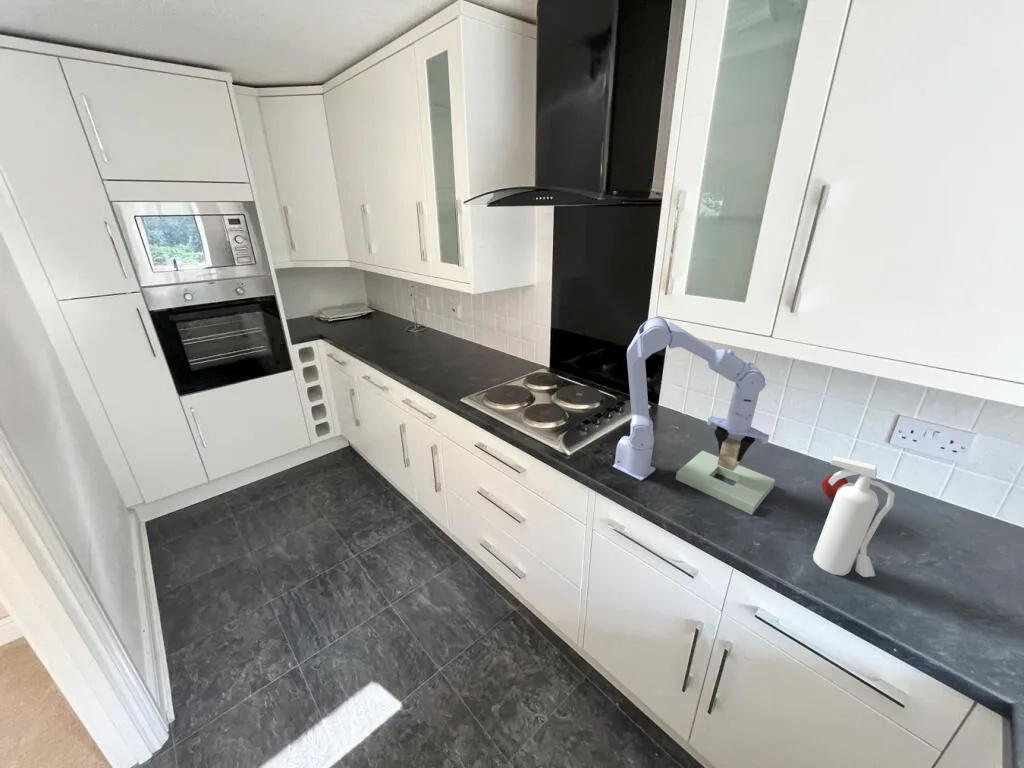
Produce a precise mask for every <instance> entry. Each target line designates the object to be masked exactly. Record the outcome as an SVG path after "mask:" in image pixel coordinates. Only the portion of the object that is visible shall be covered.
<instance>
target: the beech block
mask: <svg viewBox="0 0 1024 768" xmlns="http://www.w3.org/2000/svg"><path fill="white" fill-rule="evenodd" d="M740 443H741V440H738V439H735V438H732V437H730V436H728V438H727V439H726V440H725V441H723V442H722V447H721V451H720V454H719V456H718V457H719V460H718V464H717V465H719V466H721V467H724V468H726V469H729V470H731V471H733V470H734V469H735V468H736V467H737V466H738V465H740V464H739V463H740V462H739V461H737V457H738V454H739V450H740Z"/></svg>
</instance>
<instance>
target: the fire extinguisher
mask: <svg viewBox="0 0 1024 768" xmlns="http://www.w3.org/2000/svg"><path fill="white" fill-rule="evenodd" d="M830 465H832V466H835V467H839V468H842V470H840V471H837V472H835V473H833V474H834V475H833V474H832V475H833V476H832V477H831V478H830V480H829V481H828V482H829V483H830V484H831V485H833V484H834V483H835V482H836V481H837V480H839V479H842V478H847V477H849V476H854V475H857V476H858V475H859V476H858V477H857V479H856V481H855V482H853V483H852V482H848V483H847V484H844V485H842V486H841V487H839V488H838V490H837V493H836V496H835V498H834V499H833V501H832V504H831V506H830V509H829V512H828V515H827V516H826V517H827V518H826V519H825V523H824V524H823V528H822V530H821V534H820V536H819V539H818V541H817V543H816V546H815V549H814V552H813V555H812V557H813V562H814V563H815V564H816V565H817V566H818V567H819V568H820V569H822V570H823V571H826V572H827V573H829V574H832V575H837V576H842V577H843V576H845V575H847V574H849V573H850V572H851V570H852V567H853V565H854V563H855V560H856V563H855V564H856V565H855V572H856V573H858V574H859V575H860V576H862V577H863V578H868V577H870V578H871V577H876V574H875V570H874V567H873V564H872V561H871V557H869V556H868V555H867V553H868V552H867V550H868V549H867V547H868V545H869V543H870V542H871V539H872V537H874V536H873V535H874V534H875V532H876V531H877V529H878V527H879V525H880V524H881V522H882V521H883V518H884V517H885V516H886V515H887V514H888V513H889V511H890V510H891V509H892V508H893V507H894V504H895V503H894V502H895V496H896V493H895V491H893V490H892V489H890V487H888V486H887V485H886V484H884V483H883V482H879V481H877V480H876V478H877V476H878V475H877V474H878V472H877V465H875V464H872V463H868V462H863V461H859V460H854V459H850V458H845V457H841V456H837V455H833V456H832V458H831V461H830ZM874 479H875V480H874ZM871 485H873V486H875V487H878V488H880V489H882V491H884V492H886V493H887V499H886V503H885V505H884V506H883V507H882V508H881V509H880V510H879V512H878V513H877V514H876V512H877V509H878V507H879V505H880V504H879V499H878V496H877V493H876V492H875V491H874V490H872V489H870V486H871ZM875 514H876V516H875ZM874 516H875V518H874ZM873 518H874V519H873ZM859 551H860V553H859Z"/></svg>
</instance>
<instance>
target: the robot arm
mask: <svg viewBox="0 0 1024 768" xmlns="http://www.w3.org/2000/svg"><path fill="white" fill-rule="evenodd" d="M666 347H668V348H669V349H676V348H683V349H684V350H686V351H688V352H690V353H691V354H693V355H696V356H697V357H699V358H701V359H702V360H705V361H706V362H707V363H708V368H709V369H710V370H712V371H714V372H715V373H717V374H718V375H720V376H722V377H723V378H726V380H729V381H730V382H732V383H735V384H734V387H733V392H732V395H731V399H730V404H729V408H728V412H727V415H726V416H727V417H726V418H722V417H721V418H720V417H717V416H713V415H710V416H709V417H708V418H707V422H706V425H708V426H714V427H716V429H715V430H714V436H715V438H716V440H717V441H716V442H717V446H718V454H719V455H720V451H721V447H722V442H723V441H725V440H726V439H727V438H728V437H729V435H730V434H731V435H734V436H736V435H739V436H740V435H741V436H744V437H742V438H741V440H740V441H741V443H740V450H739V454H738V457H737V461H739V463H740V462H742V460H743V458H744V456H745V454H746V452H747V451H748V449H749V448H750V447H751V446H752V445H753V444H754V443H755V442H756V441H758V442H760V443H761V444H763V445H767V443H768V442H769V438H770V434H768V433H764V432H763V431H760V430H759V429H757V428H754V427H753V426H752V423H753V419H754V415H755V411H756V408H757V404H758V399H759V395H760V393H761V392H762V391H763V390H764V389H765V387H766V385H767V384H766V377H765V376H764V374H763V373H762V371H761V370H760V369H759V368H758V366H756V365H755V363H754V362H753V363H752V362H751V361H749V360H743V359H741V358H740V357H738V356H736V355H735V354H736V353H735V352H734V350H731V349H728V350H726V348H719V349H714V348H713V347H711V346H710V345H708V344H707V343H705V342H703V341H702V340H700V339H699V338H698V337H696V336H694V335H693V334H691V333H689V332H688V331H687V330H685V329H683V328H682V327H680V326H678V325H676V324H675V323H674V322H670V321H668V322H667V320H666V319H665V318H663V317H661V316H652V317H650V318H648V319H647V320H646V321H644V322H643V323H642V324H641V325H640V326H639V328H638V330H637V332H636V334H635V335H634V337H633V339H632V341H631V342H630V344H629V345H628V347H627V351H626V359H627V360H626V361H627V372H628V373H627V374H628V385H629V397H630V398H629V399H630V407H631V421H630V425H629V426H630V433H629V434H630V435H629V436H628V435H623V436H622V437H621V438H620V440H619V441H618V442H617V445H616V450H615V459H614V464H613V465H612V468H615V469H617V470H618V471H620V472H623V473H625V474H626V475H629V476H631V477H633V478H635V479H637V480H638V481H643V480H644V479H646V478H647V477H648V476H650V475H651V474H652V473H653V472H655V471H656V469H657V468H656V467H654V466H651V464H652V463H651V462H652V458H653V457H652V456H653V450H654V445H655V436H654V423H653V420H652V418H651V417H650V411H649V399H648V385H647V384H648V382H647V370H646V360H647V359H648V358H649V357H650V356H652V354H654V353H656V352H659V351H662V350H663V349H665V348H666Z"/></svg>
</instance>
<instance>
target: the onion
mask: <svg viewBox="0 0 1024 768" xmlns="http://www.w3.org/2000/svg"><path fill="white" fill-rule="evenodd" d="M834 474H835V473H833V474H830V475H828V476H825V478H823V479H822V481H821V490H822V491H823V493H824V495H826V496H827V497H828V499H830V500H834V498H835V496H836V493H837V490H838V488H839V487H841V486H842V485H844V484H847V483H849V481H848V480H847V478H846V477H844V478H842V479H839V480H837V481H836V482H835V483H834V484H833V485H831V484H830V483H829V482H828V481H829V480H830V478H831V477H832V476H833V475H834Z"/></svg>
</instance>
